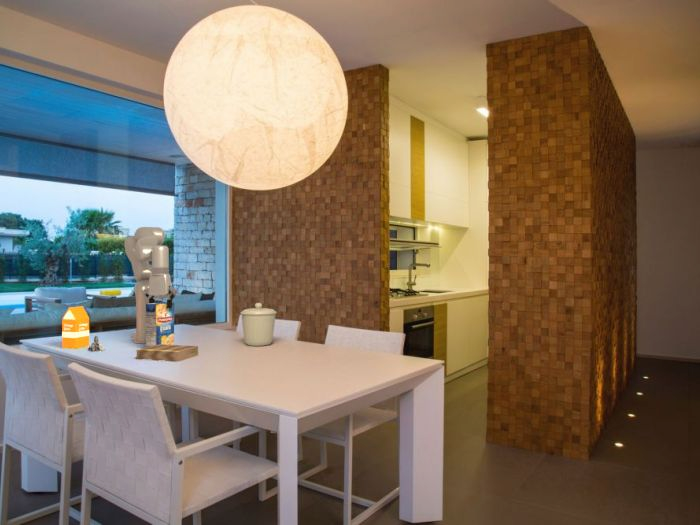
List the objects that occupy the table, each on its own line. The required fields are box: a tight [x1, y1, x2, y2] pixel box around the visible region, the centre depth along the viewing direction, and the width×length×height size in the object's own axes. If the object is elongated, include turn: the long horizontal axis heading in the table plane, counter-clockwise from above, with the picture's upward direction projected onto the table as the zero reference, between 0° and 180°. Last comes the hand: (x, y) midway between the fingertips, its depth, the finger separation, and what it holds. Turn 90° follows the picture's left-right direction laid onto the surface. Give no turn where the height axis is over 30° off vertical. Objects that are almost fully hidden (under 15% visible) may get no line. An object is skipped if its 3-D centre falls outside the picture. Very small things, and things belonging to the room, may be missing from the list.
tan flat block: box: [136, 344, 199, 362], centre depth 238 cm, size 20×16×4 cm
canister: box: [240, 302, 277, 347], centre depth 273 cm, size 18×18×21 cm
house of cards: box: [87, 335, 106, 352], centre depth 250 cm, size 9×9×8 cm
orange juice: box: [61, 305, 90, 350], centre depth 260 cm, size 8×9×20 cm
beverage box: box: [145, 301, 175, 348], centre depth 258 cm, size 7×11×22 cm, turn 151°
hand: (160, 307), depth 257 cm, fingers open, 9 cm apart
